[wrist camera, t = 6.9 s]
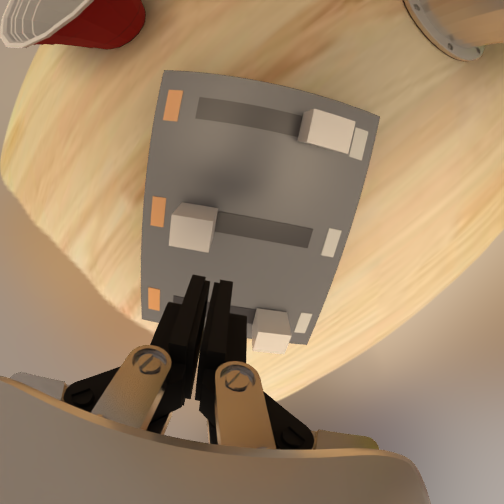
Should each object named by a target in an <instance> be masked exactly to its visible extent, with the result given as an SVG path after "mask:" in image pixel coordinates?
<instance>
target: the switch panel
mask: <svg viewBox="0 0 504 504" xmlns="http://www.w3.org/2000/svg"><path fill="white" fill-rule="evenodd" d="M312 109H317V110H321V111H324V112H328V113H331V114H334V115H337V116H340V117H343V118H346V119H349V120H352V121H355V127H354V131H353V136H352V140H351V144H350V149H349V153H348V154H346V153H342V152H337V151H333V150H329V149H326V148H322V147H319V146H315V145H311V144H307V143H303V142H299V141H297V140H298V136H299V131H300V127H301V122H302V118H303V113H304V112H306V111H309V110H312ZM379 119H380V116H377V115H375V114H372V113H370V112H367V111H364V110H362V109H359V108H356V107H353V106H351V105H348V104H345V103H342V102H339V101H336V100H333V99H329V98H326V97H323V96H319V95H316V94H313V93H309V92H305V91H301V90H298V89H294V88H290V87H285V86H281V85H277V84H272V83H267V82H262V81H257V80H252V79H246V78H240V77H233V76H226V75H219V74H210V73H200V72H189V71H173V70H164V73H163V77H162V82H161V86H160V91H159V96H158V101H157V106H156V111H155V117H154V123H153V129H152V135H151V142H150V149H149V157H148V165H147V174H146V183H145V194H144V207H143V222H142V245H141V306H142V319H144V320H148V321H153V322H157V323H159V322H160V320H161V317H162V315H163V312H164V310H165V308H166V305H167V303H168V302H173V303H178V304H182V302H183V299H184V297H185V294H186V291H187V288H188V286H189V283H190V280H191V277H192V275H199V276H204V277H206V281H210V288H209V295H208V302H207V310H206V317H205V323H206V318H207V313H208V309H209V304H210V299H211V295H212V290H213V286H214V282H218V283H220V279H221V280H226V281H232V282H233V288H232V297H231V306H230V313H233V314H239V315H245V316H247V338H250V339H252V325H253V321H254V317H255V313H256V309H257V308H259V309H266V310H273V311H281V312H287V316H288V320H289V325H290V330H291V335H292V336H291V339H290V341H289V343H294V344H305V345H307V343H308V341H309V338H310V336H311V334H312V331H313V329H314V327H315V324H316V322H317V319H318V317H319V314H320V312H321V309H322V307H323V304H324V302H325V299H326V297H327V294H328V292H329V289H330V286H331V284H332V281H333V278H334V275H335V273H336V270H337V267H338V264H339V261H340V259H341V256H342V253H343V250H344V247H345V244H346V241H347V238H348V235H349V232H350V229H351V225H352V222H353V219H354V216H355V212H356V209H357V206H358V202H359V199H360V195H361V192H362V188H363V185H364V181H365V177H366V174H367V170H368V166H369V162H370V158H371V154H372V150H373V146H374V141H375V137H376V133H377V128H378V124H379ZM182 202H184V203H190V204H196V205H202V206H208V207H214V208H218V212H217V218H216V224H215V231H214V236H213V240H212V243H211V246H210V250H209V253H207V252H202V251H196V250H190V249H185V248H179V247H173V246H169V236H170V225H171V215H172V213H173V212H174V211H175V210H176V209H177V208H178V207H179V205H180V204H181V203H182ZM204 328H205V325H204Z"/></svg>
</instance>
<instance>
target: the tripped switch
mask: <svg viewBox="0 0 504 504" xmlns="http://www.w3.org/2000/svg"><path fill="white" fill-rule="evenodd" d="M217 212H218V208H214V207H208V206H202V205H196V204H190V203H184V202H182V203H181V204H180V205H179V207H178V208H177V209H176V210H175V211H174V212H173V213H172V215H171V225H170V236H169V246H173V247H179V248H185V249H190V250H196V251H202V252H207V253H209V250H210V246H211V243H212V240H213V236H214V231H215V224H216V218H217Z"/></svg>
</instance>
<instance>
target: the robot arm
mask: <svg viewBox="0 0 504 504" xmlns="http://www.w3.org/2000/svg"><path fill="white" fill-rule="evenodd" d="M404 2H405V5H406V7H407V9H408V11H409V13H410V15H411V16H412V18H413V19H414V21H415V22H416V24H417V25H418V27H419V28H420V29H421V30H422V32H423V33H424V34H425V35H426V36H427V37H428V38H429V39H430V41H431V42H432V43H434V44H435V45H436V46H437V47H438V48H439V49H440V50H442V51H443V52H445V53H446V54H447V55H449V56H451V57H453V58H455V59H458V60H461V61H473V60H476V59H478V58H480V57H481V55H482V54H483V51H484V47H485V45H489V44H496V43H503V42H504V0H404ZM209 288H210V281H206V277H204V276H199V275H192V277H191V280H190V283H189V286H188V288H187V291H186V294H185V297H184V299H183V302H182V304H178V303H173V302H168V303H167V305H166V308H165V310H164V312H163V315H162V317H161V320H160V322H159V324H158V327H157V329H156V332H155V334H154V337H153V339H152V342H151V344H150V345H143V346H139V347H137V348H135V349H134V350H132V352H130V354H129V355H128V356H127V358H126V359H125V361H124V363H123V364H122V365H121V366H120V367H118V368H115V369H113V370H110V371H107V372H104V373H101V374H98V375H95V376H93V377H89V378H86V379H83V380H80V381H77V382H75V383H73V384H71V385H67V384H66V383H65V381H59V380H54V379H49V378H45V377H40V376H36V375H32V374H27V373H21V372H20V373H16V374H14V375H13V376H12V377H10V378H7V377H4V376H0V504H431V503H430V499H429V496H428V492H427V489H426V487H425V484H424V481H423V479H422V477H421V474H420V472H419V470H418V469H417V467H416V466H415V464H414V463H413V462H412V461H411V460H410V459H408V458H407V457H405V456H403V455H400V454H397V453H394V452H390V451H385V450H379V447H378V445H377V443H376V442H375V441H374V440H373V439H371V438H369V437H366V436H359V435H351V434H343V433H337V432H330V431H325V430H318V431H317V432H316V431H311V430H310V429H309V428H308V427H307V426H306V425H304V424H303V423H302V422H301V421H299V420H298V419H297V418H295V417H294V416H293V415H292V414H290V413H289V412H288V411H287V410H285V409H284V408H283V407H282V406H280V405H279V404H278V403H277V402H276V401H274V400H273V399H272V398H271V397H270V396H268V395H267V394H266V393H265V392H264V391H263V388H262V384H261V379H260V376H259V374H258V372H257V371H256V370H255V369H254V368H253V367H252V366H250V365H249V364H246V344H247V316H245V315H239V314H233V313H230V306H231V297H232V288H233V282H232V281H226V280H221V279H220V283H218V282H214V286H213V290H212V295H211V299H210V304H209V309H208V313H207V318H206V323H205V317H206V310H207V302H208V295H209ZM204 325H205V328H204ZM199 353H200V355H199ZM198 358H199V364H198V374H197V384H196V394H195V400H198V401H200V407H199V411H200V412H201V413H202V414H203V415H204V416H205V417H206V418H207V431H208V443H202V442H196V441H190V440H185V439H180V438H175V437H170V436H166V435H164V433H165V431H166V429H167V426H168V424H169V421H170V419H171V417H172V413H173V411H175V410H177V409H178V408H180V407H182V405H184V402H185V398H187V399H191V394H192V389H193V383H194V378H195V373H196V368H197V363H198Z"/></svg>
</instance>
